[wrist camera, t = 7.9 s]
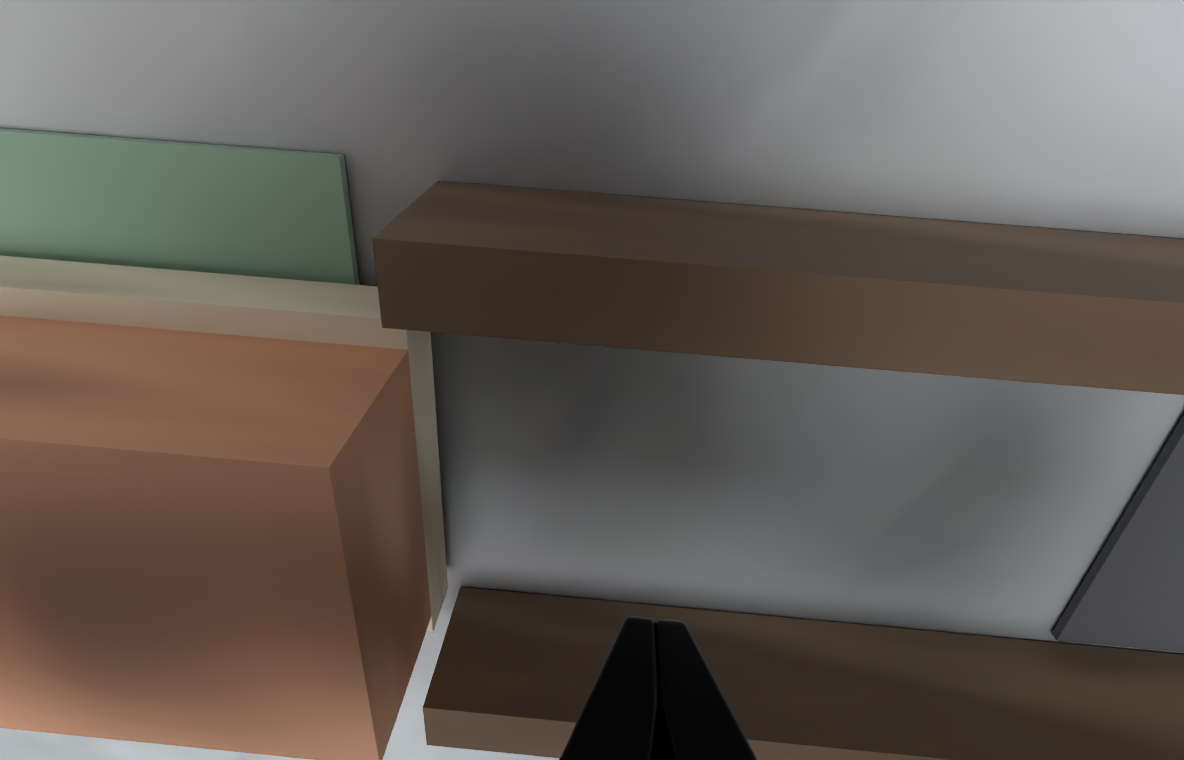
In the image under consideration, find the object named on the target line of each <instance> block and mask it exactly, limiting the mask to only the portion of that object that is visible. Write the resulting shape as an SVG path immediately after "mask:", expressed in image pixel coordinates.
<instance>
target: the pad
mask: <svg viewBox="0 0 1184 760" xmlns="http://www.w3.org/2000/svg"><path fill="white" fill-rule="evenodd" d="M0 256H12V257H24V258H36V259H48V260H61V261H73V262H85V263H97V264H109V265H122V266H134V267H146V268H158V269H170V270H183V271H195V272H207V273H219V274H231V275H244V276H256V277H268V278H280V279H292V280H304V281H317V282H329V283H341V284H353V285H360V283H359V275H358V267H357V259H356V250H355V242H354V234H353V226H352V218H351V209H350V201H349V193H348V185H347V176H346V168H345V160H344V154H331V153H318V152H305V151H292V150H279V149H266V148H253V147H240V146H227V145H214V144H201V143H188V142H175V141H162V140H149V139H136V138H123V137H110V136H97V135H84V134H71V133H58V132H45V131H32V130H19V129H6V128H0Z"/></svg>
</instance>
